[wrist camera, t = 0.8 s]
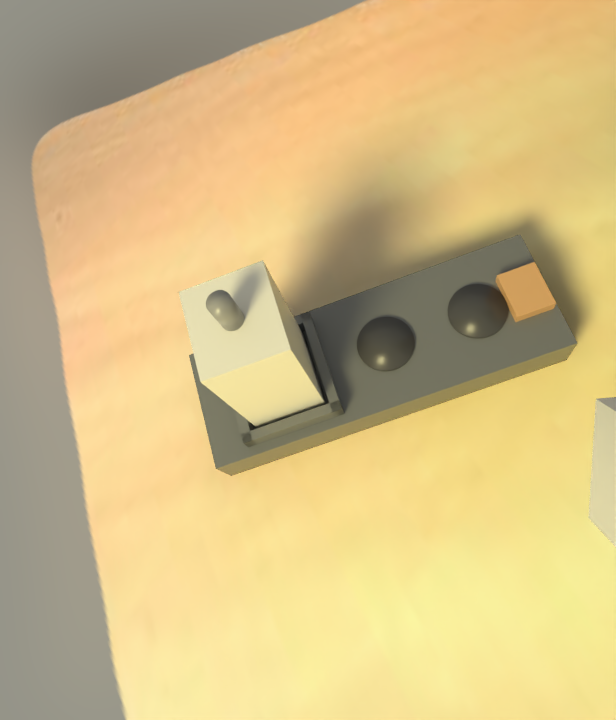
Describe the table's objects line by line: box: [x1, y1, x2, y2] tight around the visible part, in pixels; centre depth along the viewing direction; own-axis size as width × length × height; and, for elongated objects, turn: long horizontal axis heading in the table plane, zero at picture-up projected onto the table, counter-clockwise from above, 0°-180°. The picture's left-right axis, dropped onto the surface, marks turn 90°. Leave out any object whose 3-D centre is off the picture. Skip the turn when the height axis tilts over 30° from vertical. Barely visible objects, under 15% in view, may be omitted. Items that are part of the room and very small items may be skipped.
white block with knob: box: [179, 261, 326, 428], centre depth 32 cm, size 4×5×12 cm
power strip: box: [189, 235, 577, 476], centre depth 37 cm, size 23×8×4 cm, turn 107°
